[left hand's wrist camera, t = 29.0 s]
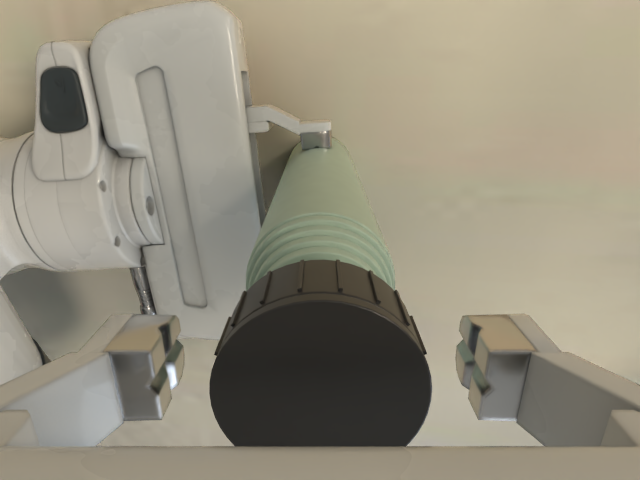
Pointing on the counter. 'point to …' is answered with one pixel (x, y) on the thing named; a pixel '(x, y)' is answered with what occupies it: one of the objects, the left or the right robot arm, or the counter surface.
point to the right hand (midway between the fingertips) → (334, 182)
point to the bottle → (320, 217)
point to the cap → (320, 362)
